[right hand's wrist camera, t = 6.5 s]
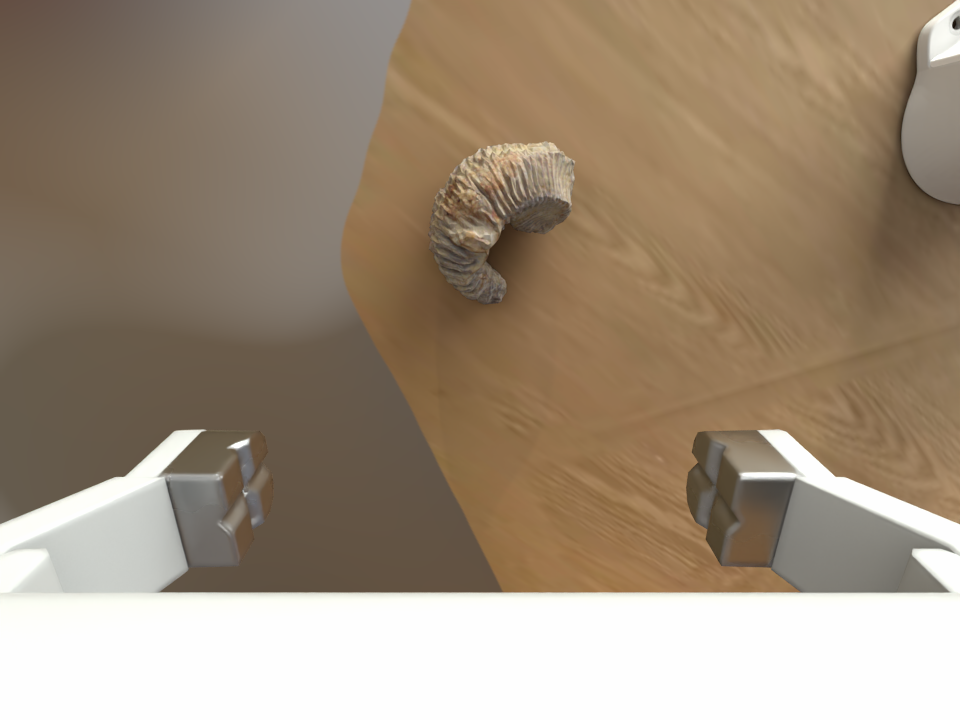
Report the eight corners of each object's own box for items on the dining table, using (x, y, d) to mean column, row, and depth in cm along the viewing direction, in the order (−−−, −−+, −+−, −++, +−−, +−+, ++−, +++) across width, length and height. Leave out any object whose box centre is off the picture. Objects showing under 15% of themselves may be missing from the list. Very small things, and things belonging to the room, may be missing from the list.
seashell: (546, 139, 47) (534, 81, 37) (608, 232, 46) (612, 198, 36) (422, 227, 49) (379, 195, 39) (478, 318, 48) (449, 308, 38)
